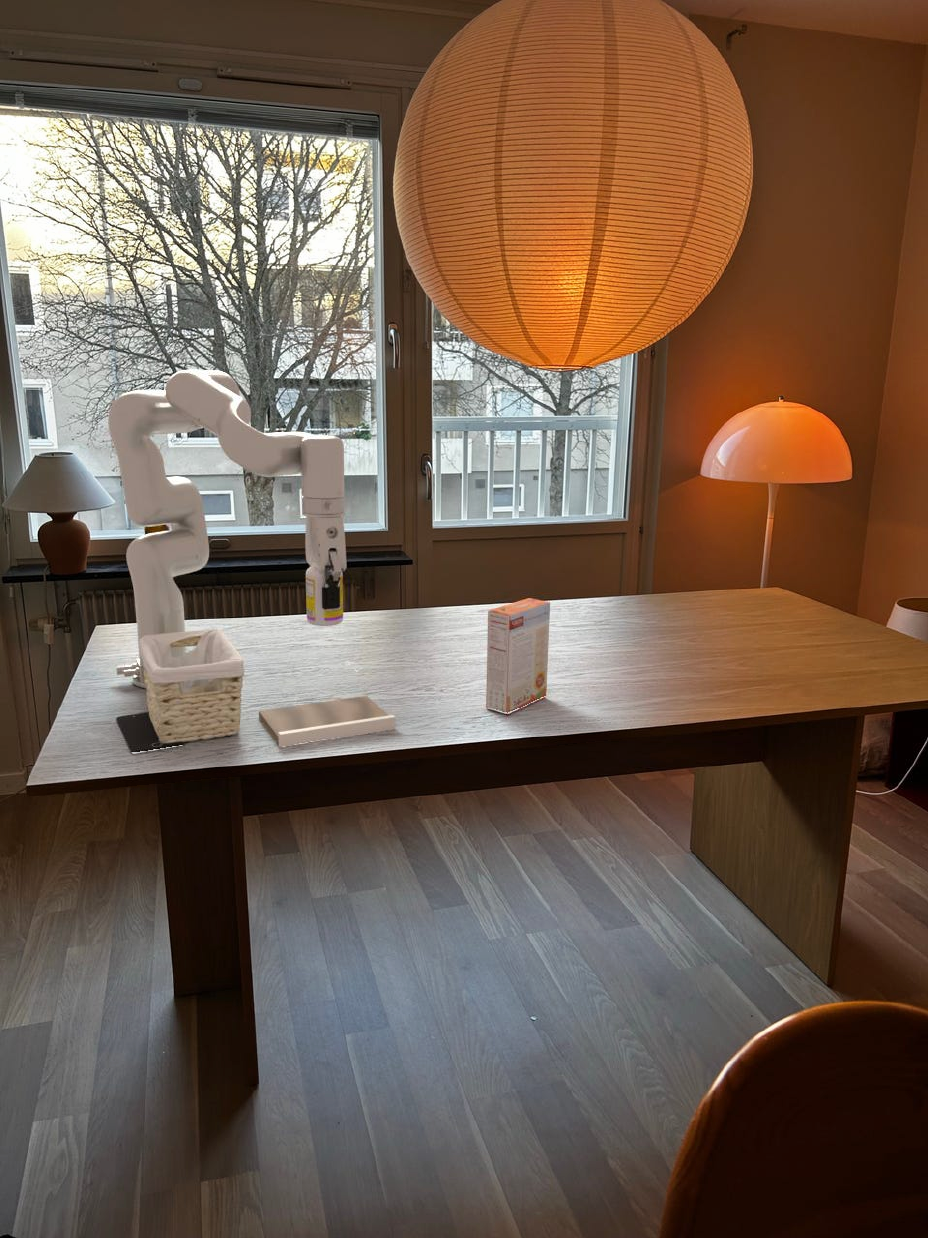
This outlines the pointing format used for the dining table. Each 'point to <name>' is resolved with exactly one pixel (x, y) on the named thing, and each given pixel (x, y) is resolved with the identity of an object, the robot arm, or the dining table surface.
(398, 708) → the dining table surface
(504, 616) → the cracker box
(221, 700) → the storage basket
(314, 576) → the supplement bottle
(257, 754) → the dining table surface
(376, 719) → the rail
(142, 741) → the cell phone
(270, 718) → the shelf board
